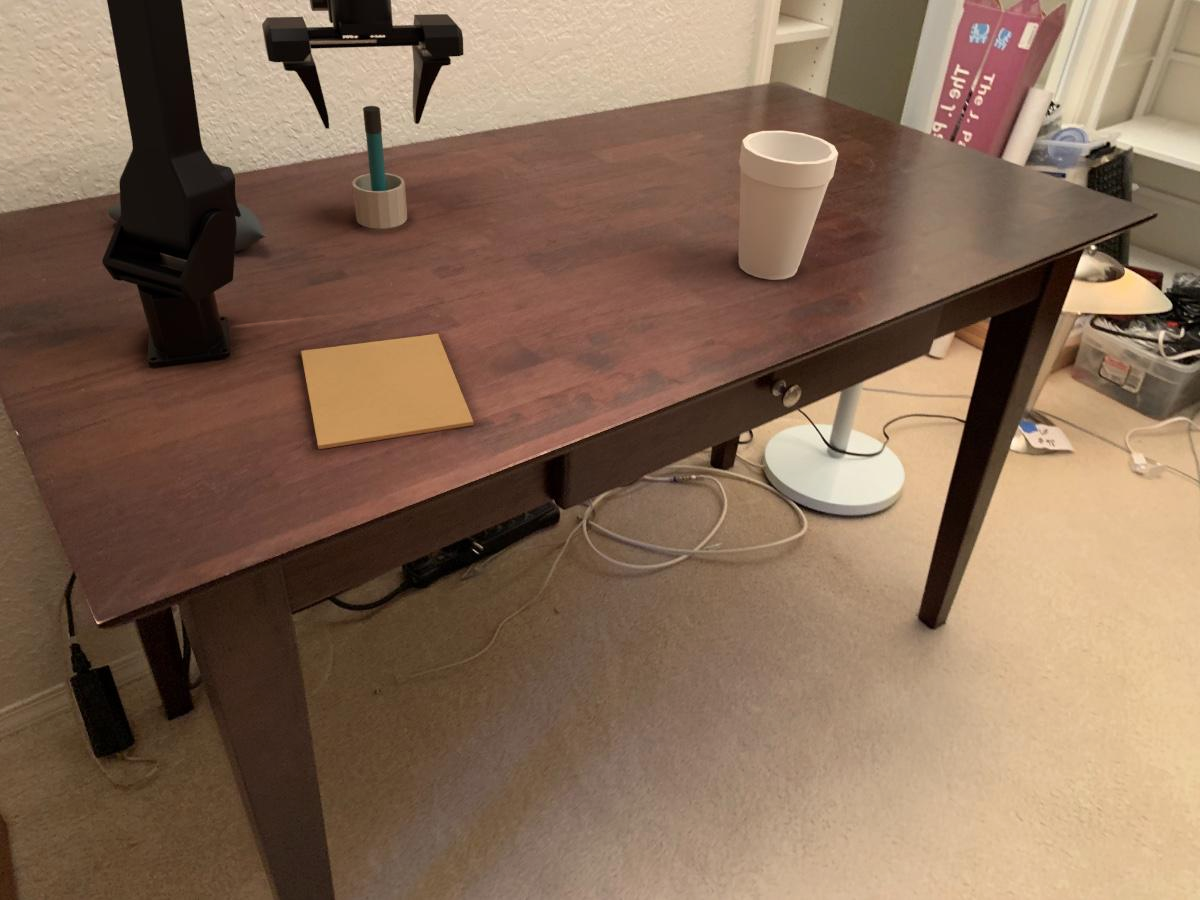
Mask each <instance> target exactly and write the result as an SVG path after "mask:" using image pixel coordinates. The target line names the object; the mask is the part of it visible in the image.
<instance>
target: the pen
mask: <svg viewBox="0 0 1200 900" xmlns="http://www.w3.org/2000/svg"><path fill="white" fill-rule="evenodd" d="M362 113H363V114H362V115H363V124H364V131H365V138H366V146H367V147H366V148H367V157H368V169H369V173H370V179H371V189H372V191H387V188H386V177H385V173H386V168H385V167H386V165H385V156H384V145H383V144H384V143H383V136H382V135H383V134H382V133H383V130H382V129H383V128H382V118H381V108H380V106H376V105H367V106H364V107H363V108H362Z"/></svg>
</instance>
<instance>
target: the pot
mask: <svg viewBox="0 0 1200 900" xmlns="http://www.w3.org/2000/svg"><path fill="white" fill-rule="evenodd" d="M385 177H386V188H387V191H372V189H371V179H370V172H369V173H365V174H361V175H359V176H357V177H355V178H353V180H352V181H351V186H352V196H353V203H354V204H353V205H354V214H355V220H356V223H358V224H359V225H360V226H363V227H364V228H368V229H375V230H383V229H384V230H385V229H386V230H387V229H392V228H396V227H399V226H402V225H403V224H405V223H406V222H407V220H408V208H407V207H408V206H407V195H406V194H407V193H406V182H405V180H404V178H403V177H401V176H399V175H397V174H393V173H390V172H385Z"/></svg>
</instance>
